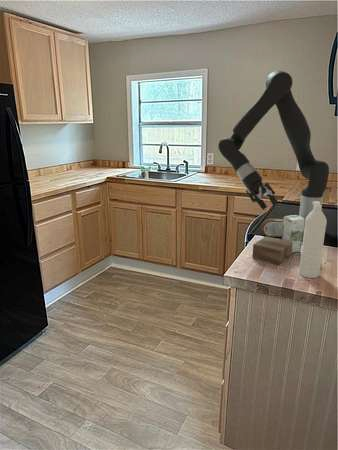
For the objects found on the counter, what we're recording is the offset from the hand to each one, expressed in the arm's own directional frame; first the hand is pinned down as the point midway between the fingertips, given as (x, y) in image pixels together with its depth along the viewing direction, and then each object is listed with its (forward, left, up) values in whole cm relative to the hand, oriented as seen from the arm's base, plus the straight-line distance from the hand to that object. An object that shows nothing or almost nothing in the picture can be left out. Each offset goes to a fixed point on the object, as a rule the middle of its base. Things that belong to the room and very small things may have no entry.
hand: (270, 206), depth 135 cm
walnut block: (+11, +9, -17) cm, 22 cm away
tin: (-11, -1, -17) cm, 20 cm away
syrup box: (0, +11, -17) cm, 20 cm away
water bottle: (+14, +25, -17) cm, 33 cm away
